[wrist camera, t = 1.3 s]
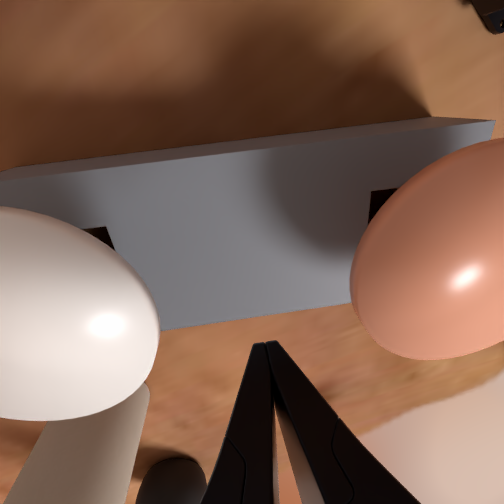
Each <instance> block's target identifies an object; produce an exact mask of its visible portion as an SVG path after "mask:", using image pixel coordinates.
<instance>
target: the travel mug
mask: <svg viewBox="0 0 504 504" xmlns="http://www.w3.org/2000/svg"><path fill="white" fill-rule="evenodd" d="M149 400H150V392H149V389H148V387H147V385H146V384H145V383H144V382H143V383H142V385H141V386H140V387H139V388H138V389H137V390H136V391H135V392H134V393H133V394H131V395H130V396H129V397H127V398H126V399H125V400H123V401H122V402H120V403H118V404H116V405H114V406H112V407H110V408H108V409H105V410H103V411H100V412H97V413H94V414H91V415H87V416H83V417H78V418H73V419H65V420H54V421H48V422H47V423H46V425H45V427H44V429H43V431H42V433H41V435H40V436H39V438H38V440H37V442H36V444H35V446H34V447H33V449H32V451H31V453H30V455H29V457H28V458H27V460H26V462H25V464H24V466H23V468H22V470H21V471H20V473H19V475H18V477H17V479H16V481H15V482H14V484H13V486H12V488H11V490H10V492H9V494H8V495H7V497H6V499H5V501H4V503H3V504H125V501H126V496H127V492H128V488H129V484H130V480H131V475H132V471H133V467H134V463H135V458H136V454H137V450H138V446H139V442H140V437H141V433H142V429H143V425H144V421H145V416H146V412H147V408H148V404H149Z"/></svg>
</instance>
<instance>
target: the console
mask: <svg viewBox="0 0 504 504" xmlns="http://www.w3.org/2000/svg"><path fill="white" fill-rule="evenodd" d="M495 121H496V120H482V119H465V118H448V117H425V118H417V119H409V120H401V121H392V122H384V123H376V124H368V125H359V126H351V127H343V128H335V129H326V130H318V131H310V132H302V133H293V134H285V135H277V136H269V137H260V138H252V139H244V140H236V141H227V142H219V143H211V144H203V145H194V146H186V147H178V148H170V149H161V150H153V151H145V152H136V153H128V154H120V155H112V156H103V157H95V158H87V159H79V160H70V161H62V162H54V163H46V164H37V165H29V166H21V167H15V168H11V169H8V170H5V171H2V172H0V206H5V207H11V208H18V209H24V210H28V211H32V212H36V213H40V214H43V215H47V216H50V217H53V218H55V219H58V220H61V221H63V222H66V223H69V224H71V225H73V226H75V227H77V228H79V229H88V228H95V227H103V226H106V227H107V230H108V233H109V235H110V238H111V240H112V243H113V246H114V248H115V251H116V252H117V253H118V254H119V255H121V256H122V257H123V258H124V259H125V260H126V261H127V262H128V263H129V264H130V265H131V266H132V267H133V268H134V269H135V271H136V272H137V273H138V274H139V275H140V277H141V278H142V279H143V280H144V282H145V284H146V285H147V287H148V289H149V290H150V292H151V294H152V296H153V298H154V301H155V303H156V305H157V309H158V313H159V317H160V329H161V330H160V331H165V330H171V329H178V328H185V327H192V326H198V325H205V324H212V323H218V322H225V321H232V320H239V319H245V318H252V317H259V316H266V315H272V314H279V313H286V312H292V311H299V310H306V309H313V308H319V307H326V306H333V305H339V304H346V303H352V302H351V297H350V291H349V277H350V271H351V265H352V261H353V258H354V254H355V251H356V249H357V246H358V244H359V242H360V240H361V237H362V235H363V234H364V232H365V230H366V228H367V226H368V217H369V207H370V198H371V191H376V190H384V189H391V188H399V187H401V186H402V185H403V184H404V183H406V182H407V181H408V180H409V179H410V178H411V177H413V176H414V175H416V174H417V173H418V172H420V171H421V170H422V169H424V168H425V167H427V166H428V165H430V164H432V163H433V162H435V161H437V160H438V159H440V158H442V157H443V156H446V155H448V154H450V153H452V152H454V151H457V150H459V149H461V148H464V147H467V146H470V145H473V144H476V143H479V142H483V141H488V140H490V139H491V135H492V132H493V128H494V125H495Z"/></svg>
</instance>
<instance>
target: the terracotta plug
mask: <svg viewBox="0 0 504 504" xmlns="http://www.w3.org/2000/svg"><path fill="white" fill-rule="evenodd" d="M349 291H350V297H351V302H352V305H353V308H354V310H355V312H356V314H357V316H358V318H359V319H360V321H361V323H362V324H363V326H364V327H365V329H366V330H367V332H368V333H369V335H370V336H371V337H372V338H373V339H374V340H375V342H377V343H378V344H379V345H380V346H382V347H383V348H385V349H386V350H388V351H390V352H392V353H394V354H397V355H400V356H403V357H407V358H412V359H421V360H439V359H447V358H453V357H458V356H463V355H466V354H470V353H473V352H477V351H479V350H482V349H485V348H487V347H490V346H492V345H494V344H496V343H499V342H501V341H503V340H504V138H498V139H493V140H488V141H483V142H479V143H476V144H473V145H470V146H467V147H464V148H461V149H459V150H457V151H454V152H452V153H450V154H448V155H446V156H443V157H442V158H440V159H438V160H437V161H435V162H433V163H432V164H430V165H428V166H427V167H425V168H424V169H422V170H421V171H420V172H418V173H417V174H416V175H414V176H413V177H411V178H410V179H409V180H408V181H407V182H406V183H404V184H403V185H402V186H401V187H400V188H399V189H398V190H397V191H396V192H394V194H393V195H392V196H391V197H390V198H389V199H388V200H387V201H386V202H385V203H384V205H383V206H382V207H381V208H380V209H379V211H378V212H377V213H376V215H375V216H374V218H373V219H372V220H371V222H370V223H369V225H368V227H367V228H366V230H365V232H364V234H363V235H362V237H361V240H360V242H359V244H358V246H357V249H356V251H355V254H354V258H353V261H352V265H351V271H350V277H349Z"/></svg>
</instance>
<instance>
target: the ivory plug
mask: <svg viewBox="0 0 504 504" xmlns="http://www.w3.org/2000/svg"><path fill="white" fill-rule="evenodd" d="M160 330H161V329H160V317H159V313H158V309H157V305H156V303H155V301H154V298H153V296H152V294H151V292H150V290H149V289H148V287H147V285H146V284H145V282H144V280H143V279H142V278H141V277H140V275H139V274H138V273H137V272H136V271H135V269H134V268H133V267H132V266H131V265H130V264H129V263H128V262H127V261H126V260H125V259H124V258H123V257H122V256H121V255H119V254H118V253H117V252H115V251H114V250H113V249H112V248H110V247H109V246H108V245H106V244H105V243H103V242H102V241H100V240H99V239H97V238H95V237H94V236H92V235H91V234H89V233H87V232H85V231H83V230H81V229H79V228H77V227H75V226H73V225H71V224H69V223H66V222H63V221H61V220H58V219H55V218H53V217H50V216H47V215H43V214H40V213H36V212H32V211H28V210H24V209H18V208H11V207H5V206H0V417H2V418H8V419H16V420H26V421H54V420H65V419H73V418H78V417H83V416H87V415H91V414H94V413H97V412H100V411H103V410H105V409H108V408H110V407H112V406H114V405H116V404H118V403H120V402H122V401H123V400H125V399H126V398H127V397H129V396H130V395H131V394H133V393H134V392H135V391H136V390H137V389H138V388H139V387H140V386H141V385H142V383H143V382H144V381H145V379H146V378H147V376H148V374H149V372H150V371H151V369H152V366H153V363H154V359H155V356H156V352H157V348H158V344H159V339H160Z"/></svg>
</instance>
